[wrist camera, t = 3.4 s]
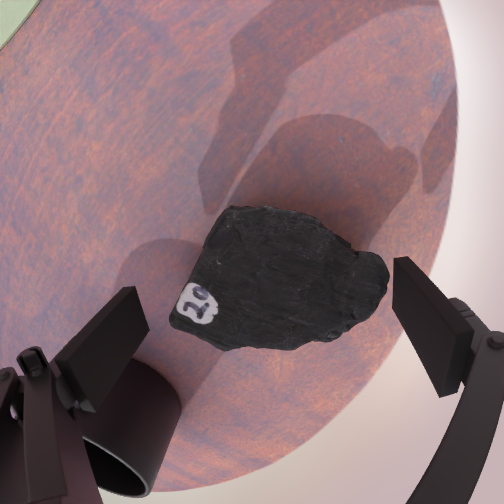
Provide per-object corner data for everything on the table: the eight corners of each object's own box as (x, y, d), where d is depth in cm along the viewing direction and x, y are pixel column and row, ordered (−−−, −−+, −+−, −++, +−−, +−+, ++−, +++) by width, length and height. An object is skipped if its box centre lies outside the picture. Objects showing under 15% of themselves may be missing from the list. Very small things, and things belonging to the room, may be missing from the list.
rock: (177, 303, 21) (145, 354, 16) (243, 166, 18) (224, 177, 12) (291, 358, 22) (291, 418, 16) (374, 238, 18) (407, 278, 13)
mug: (163, 332, 22) (110, 419, 14) (190, 432, 26) (165, 508, 18) (68, 322, 23) (5, 384, 15) (108, 416, 27) (72, 478, 19)
